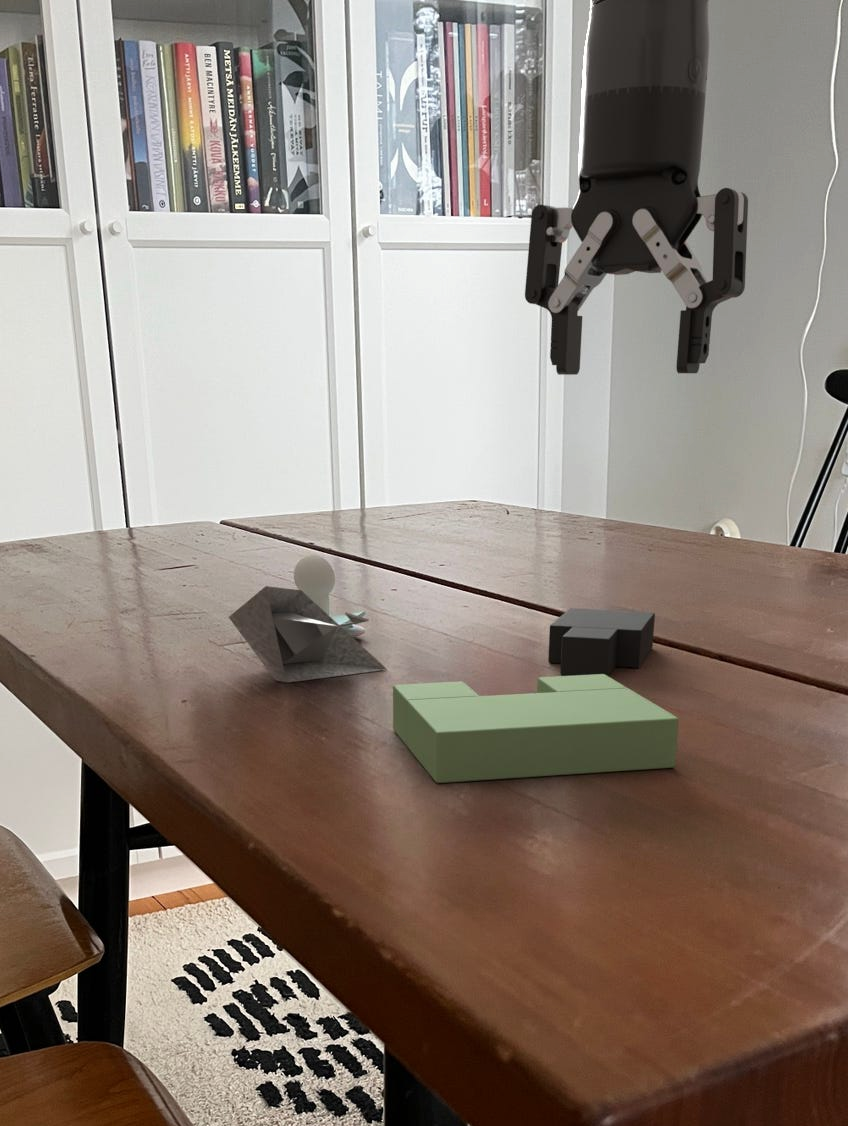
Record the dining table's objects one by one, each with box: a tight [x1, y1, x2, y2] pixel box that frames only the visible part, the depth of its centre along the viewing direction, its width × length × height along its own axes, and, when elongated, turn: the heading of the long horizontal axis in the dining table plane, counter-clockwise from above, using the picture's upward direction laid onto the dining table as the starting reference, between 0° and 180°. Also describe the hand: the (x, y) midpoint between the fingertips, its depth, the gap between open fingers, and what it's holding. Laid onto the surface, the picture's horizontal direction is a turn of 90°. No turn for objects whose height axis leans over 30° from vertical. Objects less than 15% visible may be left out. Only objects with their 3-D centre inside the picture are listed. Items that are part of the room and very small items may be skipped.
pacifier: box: [293, 554, 366, 638], centre depth 91 cm, size 7×6×6 cm
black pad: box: [547, 607, 656, 677], centre depth 84 cm, size 6×10×2 cm, turn 161°
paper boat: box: [228, 585, 388, 684], centre depth 79 cm, size 12×6×9 cm
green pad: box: [392, 674, 680, 784], centre depth 65 cm, size 12×10×2 cm
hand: (625, 374), depth 84 cm, fingers open, 8 cm apart
